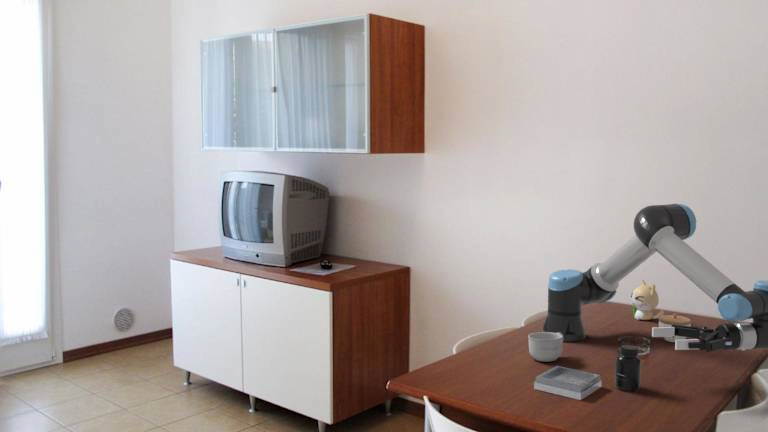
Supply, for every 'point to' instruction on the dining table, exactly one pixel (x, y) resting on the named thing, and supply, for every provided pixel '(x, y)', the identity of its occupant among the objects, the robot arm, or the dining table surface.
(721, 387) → the dining table surface
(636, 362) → the supplement bottle
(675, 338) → the lidded jar
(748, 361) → the dining table surface
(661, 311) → the kitten
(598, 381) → the shadow box frame
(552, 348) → the teacup
